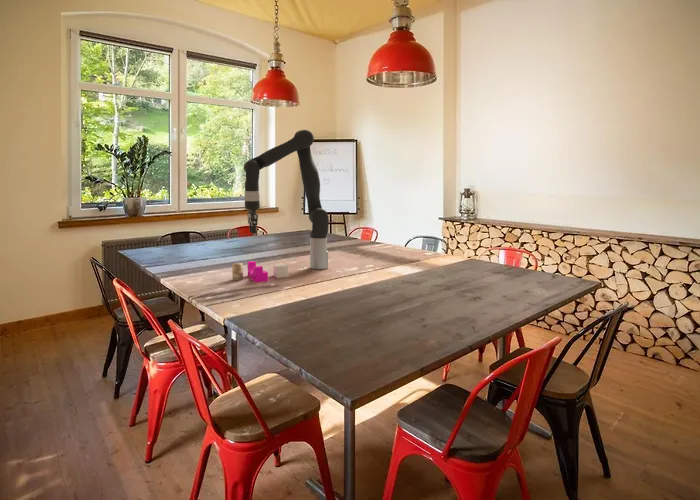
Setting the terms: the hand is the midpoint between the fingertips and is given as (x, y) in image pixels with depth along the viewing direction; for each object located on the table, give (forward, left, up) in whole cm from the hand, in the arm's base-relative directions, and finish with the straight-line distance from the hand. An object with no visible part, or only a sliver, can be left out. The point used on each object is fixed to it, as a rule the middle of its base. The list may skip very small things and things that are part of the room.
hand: (252, 232), depth 239 cm
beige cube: (-11, +13, -21) cm, 27 cm away
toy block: (+1, +13, -22) cm, 25 cm away
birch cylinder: (+11, +13, -21) cm, 27 cm away
